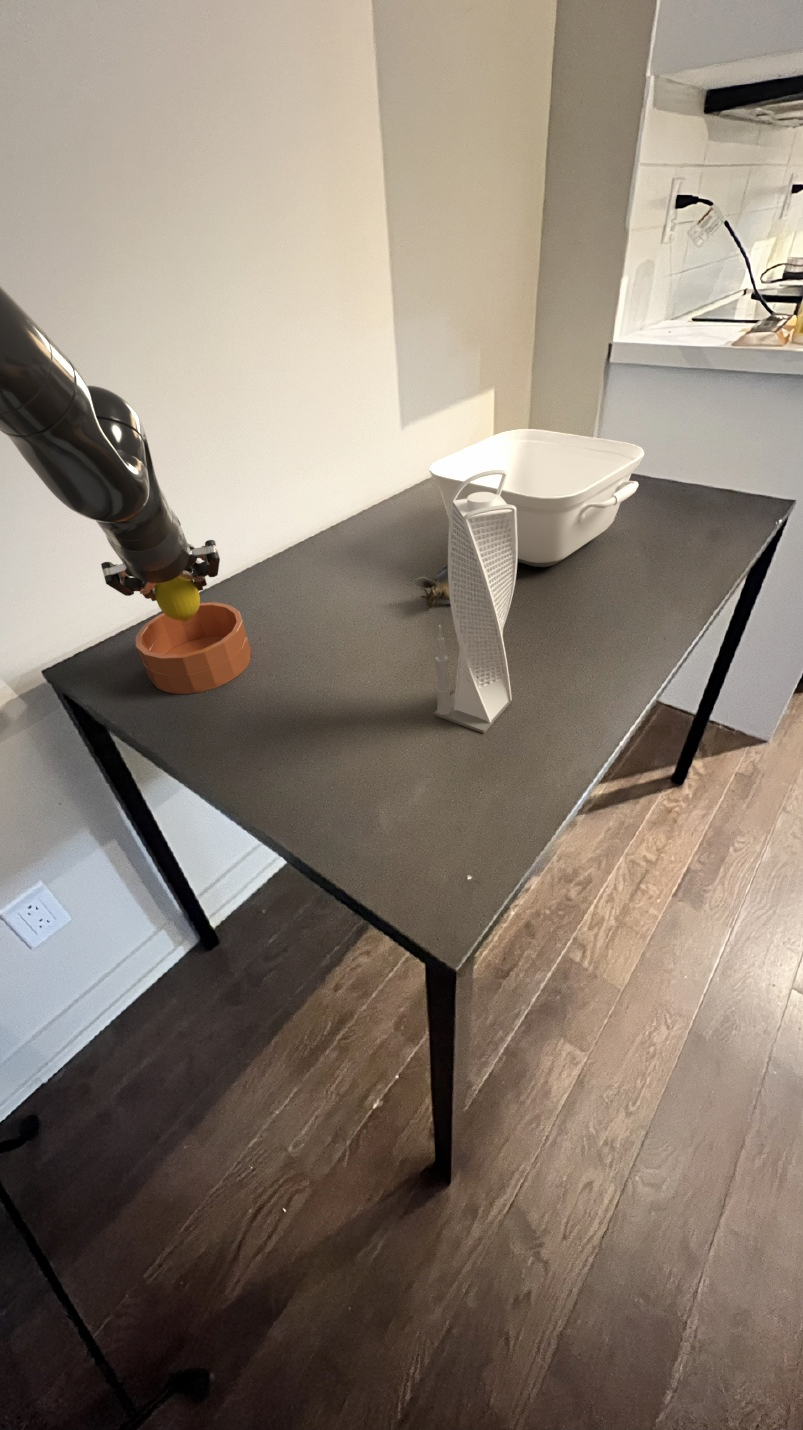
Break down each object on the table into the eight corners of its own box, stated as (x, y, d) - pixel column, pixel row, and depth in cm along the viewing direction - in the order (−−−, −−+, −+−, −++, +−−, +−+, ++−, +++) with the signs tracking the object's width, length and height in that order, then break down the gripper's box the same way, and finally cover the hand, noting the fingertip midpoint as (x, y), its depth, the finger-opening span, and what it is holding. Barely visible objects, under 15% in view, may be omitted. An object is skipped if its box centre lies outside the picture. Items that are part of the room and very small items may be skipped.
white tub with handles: (658, 535, 111) (674, 449, 101) (571, 601, 96) (580, 507, 86) (502, 499, 130) (503, 423, 121) (409, 549, 115) (402, 467, 106)
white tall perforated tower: (469, 679, 82) (464, 462, 65) (525, 697, 78) (536, 471, 61) (434, 715, 77) (419, 489, 60) (492, 736, 73) (494, 501, 56)
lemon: (158, 624, 86) (138, 572, 81) (191, 607, 90) (173, 555, 84) (181, 636, 83) (161, 582, 78) (214, 618, 86) (197, 564, 81)
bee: (454, 615, 93) (491, 581, 97) (428, 575, 91) (466, 542, 95) (428, 623, 100) (463, 592, 103) (402, 586, 98) (439, 555, 101)
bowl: (134, 695, 86) (118, 659, 82) (170, 638, 97) (158, 604, 94) (236, 692, 85) (225, 655, 81) (261, 634, 96) (252, 600, 92)
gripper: (87, 583, 67) (129, 627, 83) (221, 554, 70) (236, 602, 86) (71, 519, 68) (115, 575, 84) (204, 493, 70) (222, 552, 87)
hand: (176, 588), depth 85 cm, fingers closed on lemon, 5 cm apart
